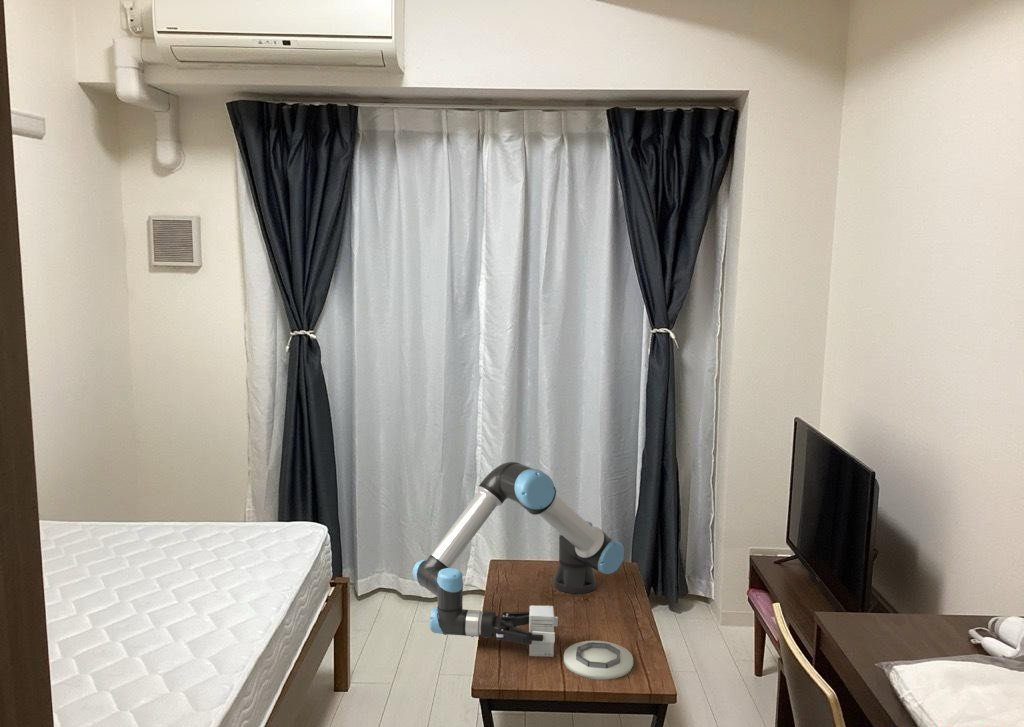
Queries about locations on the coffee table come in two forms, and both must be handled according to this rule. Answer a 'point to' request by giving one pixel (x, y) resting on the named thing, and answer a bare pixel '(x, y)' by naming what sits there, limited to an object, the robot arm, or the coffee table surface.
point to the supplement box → (541, 629)
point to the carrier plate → (598, 656)
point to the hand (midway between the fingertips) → (556, 629)
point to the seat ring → (598, 664)
